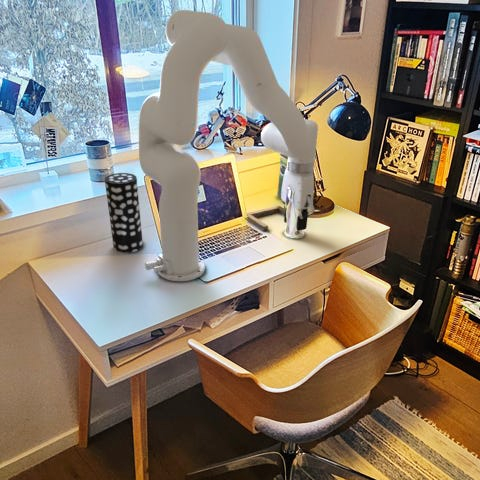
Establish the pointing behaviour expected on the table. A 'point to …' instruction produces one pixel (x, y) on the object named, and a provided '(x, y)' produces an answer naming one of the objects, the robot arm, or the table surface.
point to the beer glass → (292, 216)
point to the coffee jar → (282, 172)
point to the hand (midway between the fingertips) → (295, 225)
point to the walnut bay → (261, 213)
